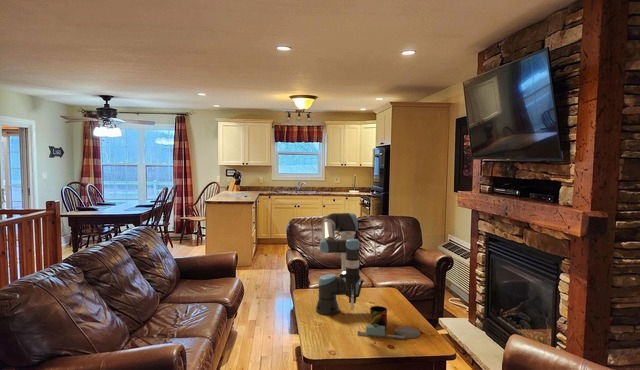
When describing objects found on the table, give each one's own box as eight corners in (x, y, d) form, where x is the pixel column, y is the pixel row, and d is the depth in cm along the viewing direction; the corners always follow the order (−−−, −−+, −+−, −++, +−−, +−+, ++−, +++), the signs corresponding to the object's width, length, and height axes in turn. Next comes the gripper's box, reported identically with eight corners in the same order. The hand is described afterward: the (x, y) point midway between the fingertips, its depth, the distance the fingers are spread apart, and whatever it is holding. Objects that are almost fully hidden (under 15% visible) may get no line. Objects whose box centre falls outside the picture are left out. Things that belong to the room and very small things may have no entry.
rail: (358, 333, 213) (358, 330, 213) (405, 338, 207) (405, 335, 207) (357, 335, 210) (357, 332, 210) (405, 339, 205) (405, 337, 205)
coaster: (394, 326, 222) (394, 325, 222) (419, 329, 219) (419, 327, 219) (394, 337, 208) (394, 335, 208) (420, 339, 205) (420, 338, 205)
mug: (381, 322, 228) (381, 303, 227) (389, 332, 214) (389, 311, 214) (365, 323, 226) (366, 304, 226) (372, 333, 213) (373, 312, 212)
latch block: (367, 331, 212) (367, 322, 212) (385, 333, 210) (385, 323, 210) (366, 334, 209) (366, 325, 208) (384, 336, 206) (384, 326, 206)
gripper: (339, 268, 209) (339, 310, 209) (363, 269, 206) (363, 312, 206) (342, 264, 216) (342, 305, 217) (365, 266, 213) (364, 307, 214)
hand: (352, 308), depth 212 cm, fingers closed
